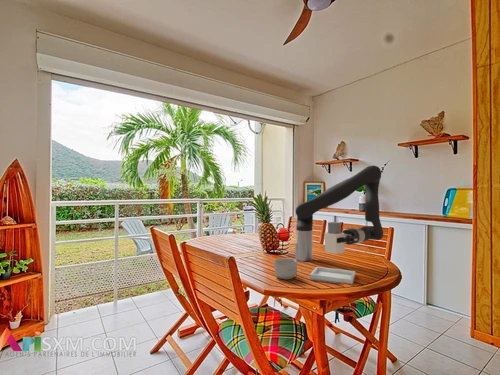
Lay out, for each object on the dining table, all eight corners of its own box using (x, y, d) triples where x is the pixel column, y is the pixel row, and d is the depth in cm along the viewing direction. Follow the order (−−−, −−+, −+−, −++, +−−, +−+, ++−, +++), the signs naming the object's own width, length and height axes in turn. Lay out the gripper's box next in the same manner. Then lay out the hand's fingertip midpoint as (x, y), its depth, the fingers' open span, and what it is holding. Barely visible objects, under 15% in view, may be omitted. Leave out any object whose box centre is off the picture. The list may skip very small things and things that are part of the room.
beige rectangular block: (335, 254, 122) (335, 234, 122) (325, 251, 127) (324, 232, 127) (344, 252, 126) (344, 233, 126) (333, 250, 131) (333, 231, 131)
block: (335, 251, 124) (335, 223, 124) (328, 250, 127) (328, 222, 127) (341, 250, 126) (340, 222, 126) (333, 249, 129) (333, 221, 130)
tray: (310, 279, 123) (309, 274, 123) (316, 271, 135) (316, 266, 136) (352, 285, 115) (352, 279, 115) (355, 276, 128) (355, 271, 128)
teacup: (291, 282, 119) (291, 264, 119) (269, 278, 125) (269, 261, 125) (303, 274, 131) (303, 258, 131) (282, 271, 136) (282, 255, 137)
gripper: (341, 226, 141) (318, 229, 131) (366, 230, 129) (344, 233, 119) (341, 241, 141) (319, 245, 131) (366, 246, 129) (344, 250, 119)
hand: (331, 239), depth 125 cm, fingers closed on beige rectangular block, 6 cm apart
